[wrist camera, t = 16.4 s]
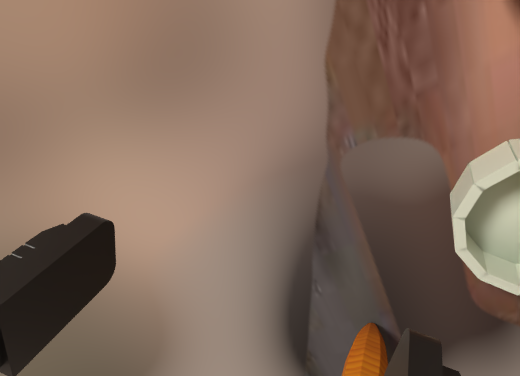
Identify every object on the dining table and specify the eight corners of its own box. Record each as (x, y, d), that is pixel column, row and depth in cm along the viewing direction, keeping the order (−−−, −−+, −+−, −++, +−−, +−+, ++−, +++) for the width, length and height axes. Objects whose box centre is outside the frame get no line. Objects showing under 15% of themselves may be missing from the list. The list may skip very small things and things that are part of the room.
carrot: (394, 340, 52) (385, 458, 40) (354, 336, 54) (333, 447, 42) (391, 309, 50) (380, 423, 38) (350, 306, 52) (326, 413, 40)
